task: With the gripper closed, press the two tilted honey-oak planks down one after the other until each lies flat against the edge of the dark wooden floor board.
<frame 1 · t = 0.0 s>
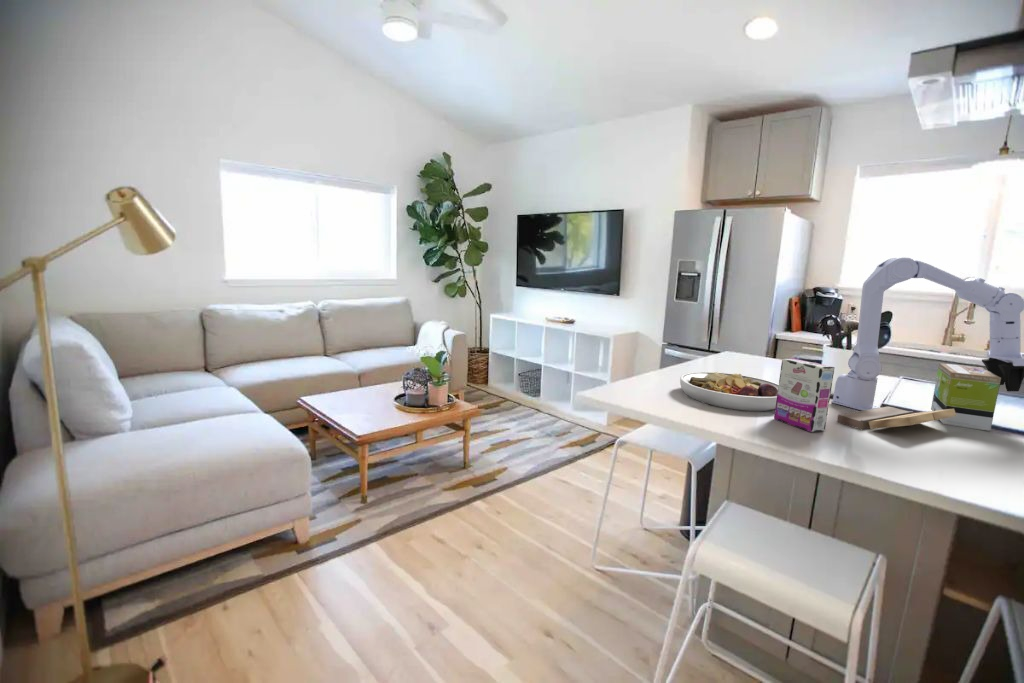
hand: (1005, 387, 129), 11 cm above the countertop, tool pointing down, fingers open, 7 cm apart
floor board: (875, 420, 130), on the countertop
plank 1: (900, 420, 120), point 3 cm above the countertop, hinge at 25.0°
candy bar box: (798, 425, 123), on the countertop
tea box: (957, 421, 134), on the countertop
plank 2: (924, 416, 124), point 3 cm above the countertop, hinge at 25.0°
bowl: (730, 399, 146), on the countertop
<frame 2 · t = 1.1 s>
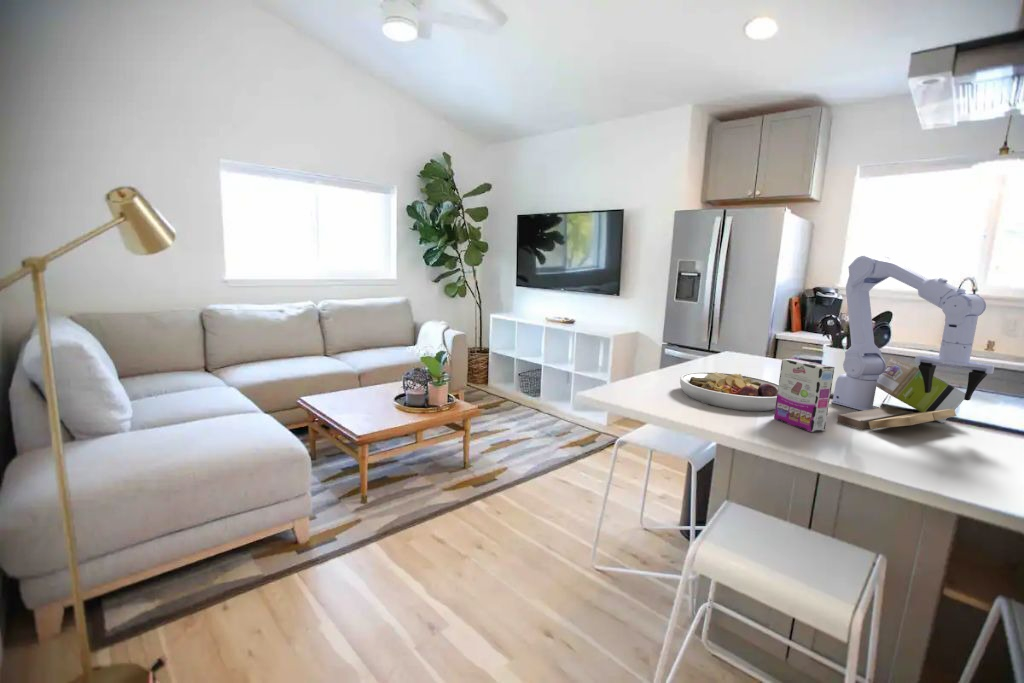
hand: (946, 396, 121), 9 cm above the countertop, tool pointing down, fingers open, 7 cm apart
tea box: (942, 403, 135), point 4 cm above the countertop, touching arm
everything else where it was.
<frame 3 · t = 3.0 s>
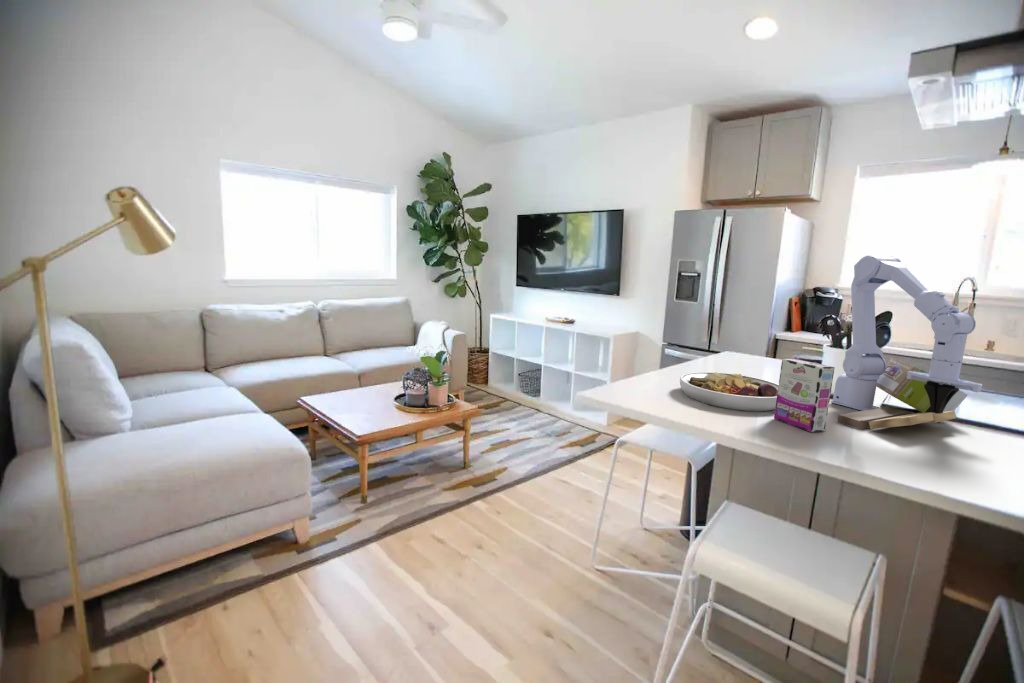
hand: (936, 412, 122), 5 cm above the countertop, tool pointing down, fingers closed
plank 2: (924, 417, 124), point 3 cm above the countertop, hinge at 21.4°, touching gripper
everything else where it was.
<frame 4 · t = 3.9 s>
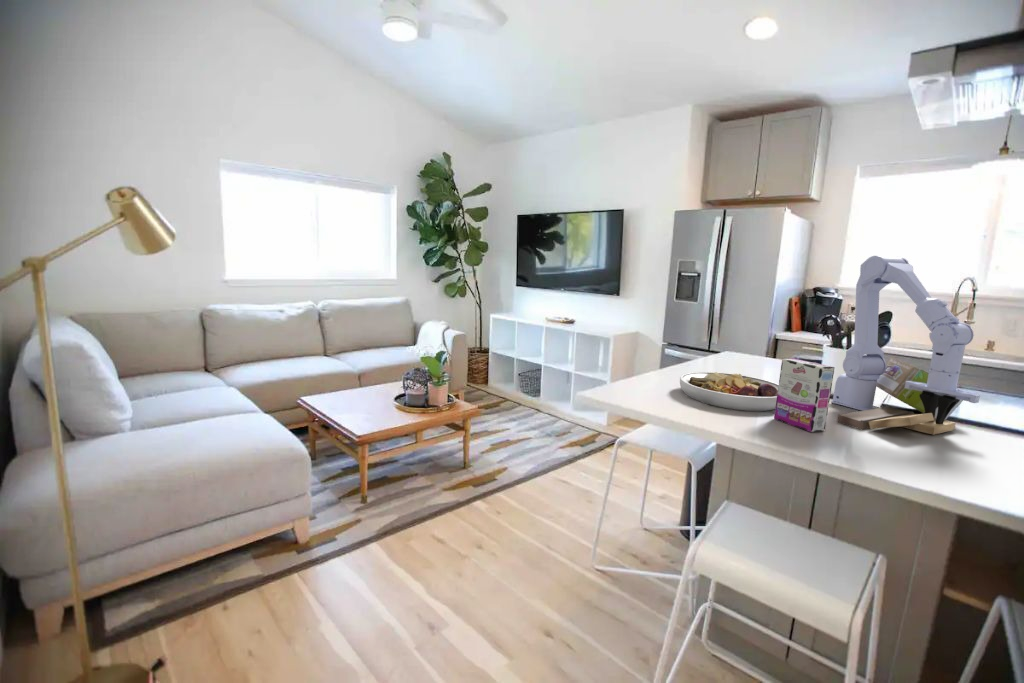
hand: (934, 422, 123), 2 cm above the countertop, tool pointing down, fingers closed on plank 2
plank 2: (923, 423, 125), point 1 cm above the countertop, hinge at 2.7°, touching gripper
everything else where it was.
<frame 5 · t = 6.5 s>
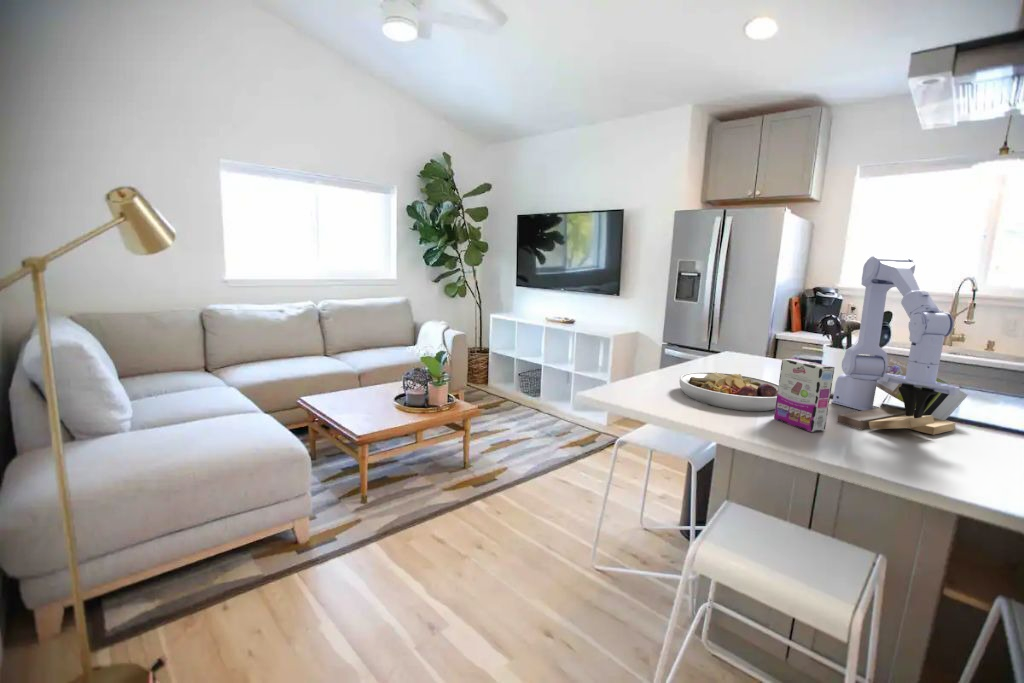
hand: (913, 416, 117), 5 cm above the countertop, tool pointing down, fingers closed
plank 1: (900, 422, 120), point 3 cm above the countertop, hinge at 21.0°, touching gripper
plank 2: (923, 423, 125), point 1 cm above the countertop, hinge at 2.5°
everything else where it was.
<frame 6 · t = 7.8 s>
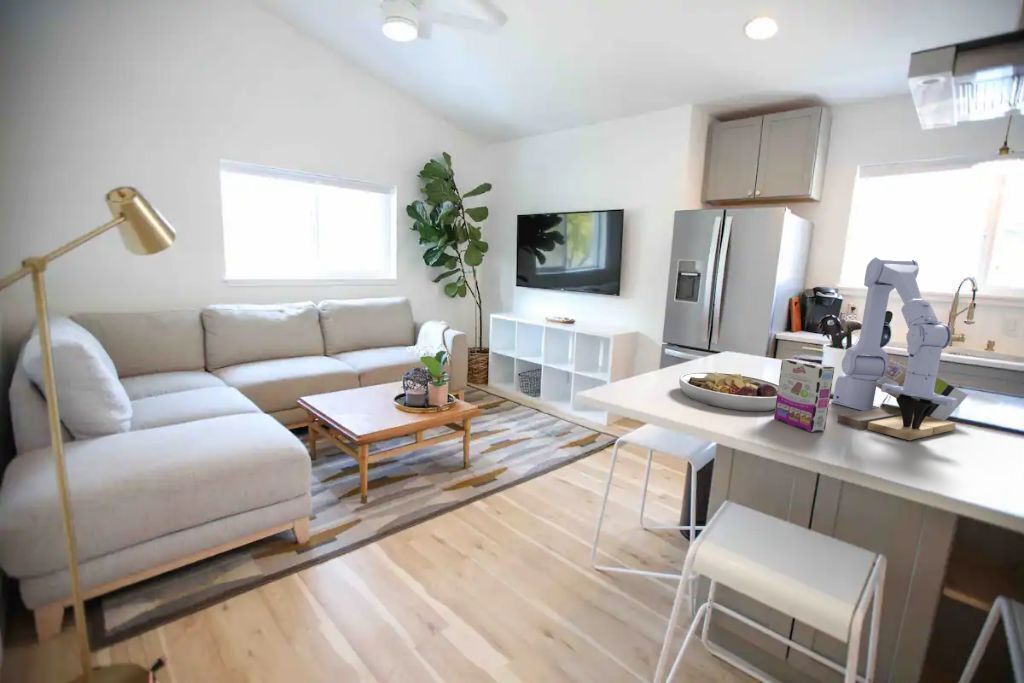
hand: (910, 427, 118), 2 cm above the countertop, tool pointing down, fingers closed on plank 1
plank 1: (899, 428, 120), point 1 cm above the countertop, hinge at 2.5°, touching gripper
everything else where it was.
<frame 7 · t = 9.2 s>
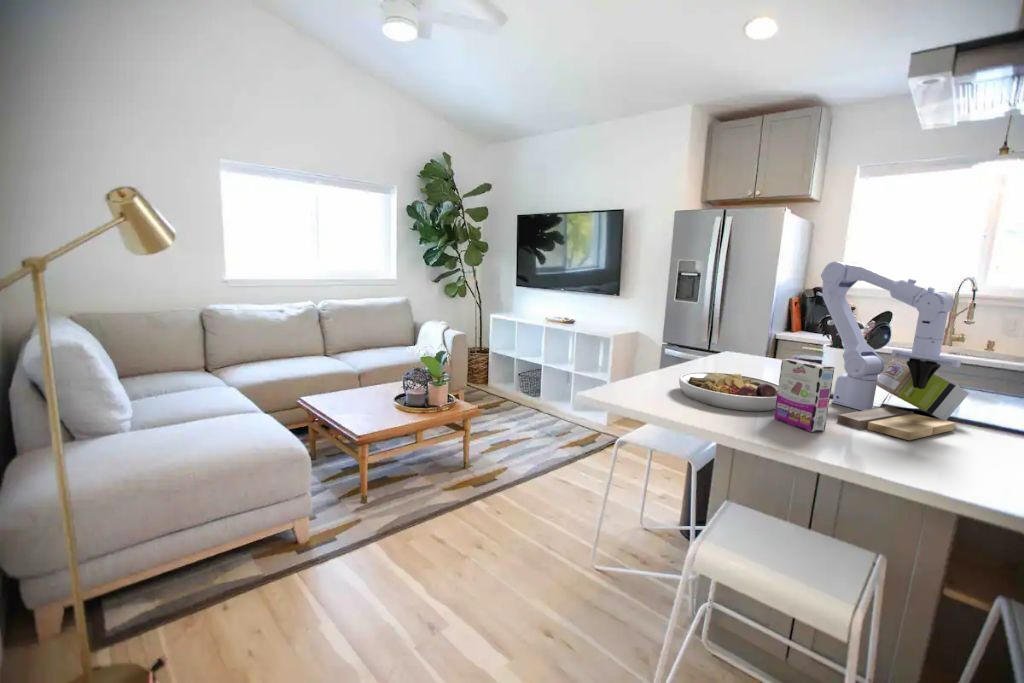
hand: (918, 387, 129), 9 cm above the countertop, tool pointing down, fingers closed
plank 1: (899, 428, 120), point 1 cm above the countertop, hinge at 2.5°
tea box: (945, 402, 136), point 4 cm above the countertop, touching gripper
everything else where it was.
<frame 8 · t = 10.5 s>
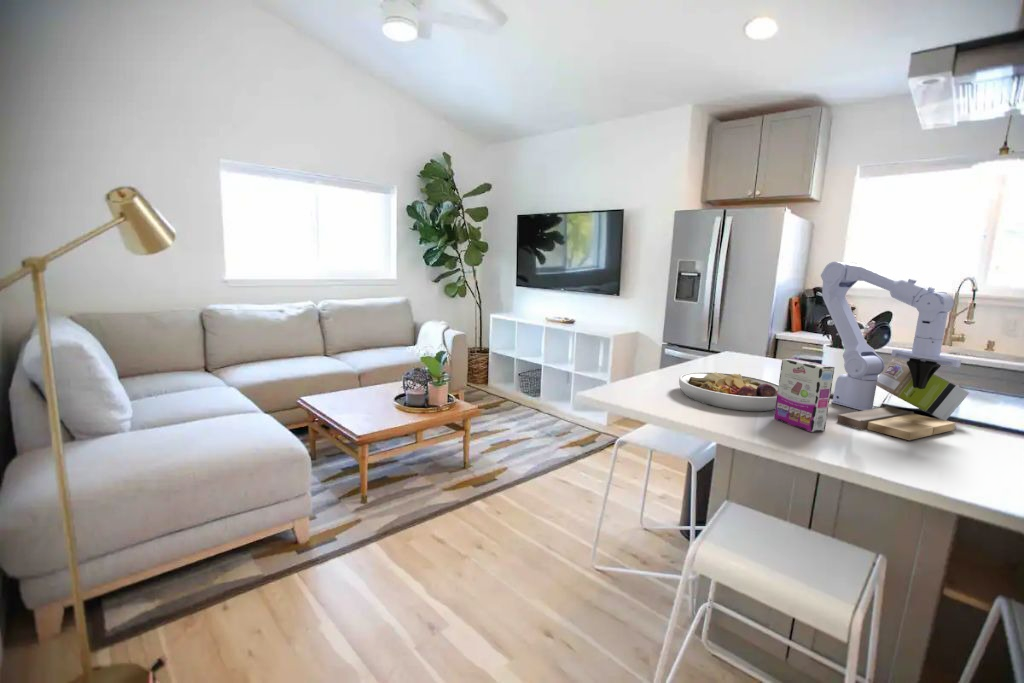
hand: (918, 387, 129), 9 cm above the countertop, tool pointing down, fingers closed
nothing on the countertop moved.
at the end: plank 2 at +2° (first picture: +25°); plank 1 at +2° (first picture: +25°) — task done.
